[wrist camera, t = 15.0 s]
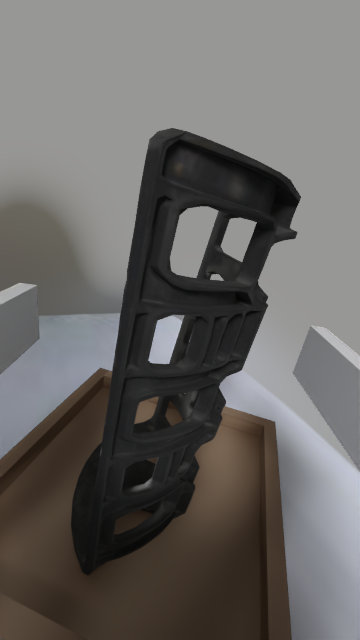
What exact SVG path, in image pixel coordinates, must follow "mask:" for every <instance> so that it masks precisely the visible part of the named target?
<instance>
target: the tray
mask: <svg viewBox="0 0 360 640" xmlns="http://www.w3.org/2000/svg"><path fill="white" fill-rule="evenodd" d="M111 378H112V371H109V370H105V369H102V368H100V369H99V370H97V371H96V372H95V373H94V374H93V375H92V376H91V377H90V378H89V379H88V380H87V381H85V382H84V383H83V384H82V385H81V386H80V387H79V388H78V389H77V390H76V391H75V392H73V393H72V394H71V395H70V396H69V397H68V398H67V399H66V400H65V401H64V402H63V403H61V404H60V405H59V406H58V407H57V408H56V409H55V410H54V411H53V412H52V413H51V414H49V415H48V416H47V417H46V418H45V419H44V420H43V421H42V422H41V423H40V424H39V425H37V426H36V427H35V428H34V429H33V430H32V431H31V432H30V433H29V434H28V435H27V436H25V437H24V438H23V439H22V440H21V441H20V442H19V443H18V444H17V445H16V446H15V447H13V448H12V449H11V450H10V451H9V452H8V453H7V454H6V455H5V456H4V457H3V458H1V459H0V640H292V638H291V625H290V611H289V598H288V585H287V572H286V559H285V546H284V532H283V519H282V506H281V493H280V480H279V467H278V453H277V440H276V427H275V422H274V421H270V420H267V419H264V418H261V417H257V416H254V415H251V414H248V413H245V412H241V411H238V410H235V409H232V408H228V407H225V406H224V408H223V410H222V413H221V415H222V418H223V419H222V421H221V423H220V426H219V428H218V431H217V433H216V435H215V437H214V439H213V440H211V441H209V442H207V443H205V444H203V445H201V447H200V448H199V449H198V450H197V452H196V453H195V455H194V456H195V458H196V460H197V462H198V464H199V467H200V468H199V470H198V473H197V475H196V477H195V480H194V482H193V484H195V491H194V494H193V496H192V499H191V501H190V504H189V506H188V508H187V510H186V513H184V514H182V515H180V516H178V517H176V518H174V519H173V520H172V521H171V523H170V524H169V525H168V526H167V527H166V528H165V529H164V531H163V532H162V533H160V534H159V535H158V536H157V537H156V538H155V539H153V540H152V541H150V542H149V543H147V544H146V545H145V546H143V547H142V548H140V549H138V550H136V551H134V552H132V553H130V554H128V555H126V556H123V557H121V558H118V559H115V560H111V561H108V562H106V563H105V564H103V565H101V566H99V567H98V568H97V569H96V570H95V571H93V572H92V573H91V574H89V575H88V576H87V575H86V574H84V573H83V572H82V570H81V567H80V564H79V561H78V559H77V556H76V553H75V550H74V544H73V536H72V529H71V516H72V500H73V495H74V491H75V488H76V484H77V481H78V478H79V475H80V473H81V471H82V469H83V467H84V464H85V462H86V461H87V459H88V458H89V457H90V455H91V454H92V452H93V451H94V450H95V449H96V447H97V446H98V445H99V444H100V443H101V442H102V438H103V431H104V425H105V418H106V412H107V405H108V398H109V391H110V385H111ZM158 398H159V397H154V398H151V399H148V400H145V401H142V402H140V403H139V406H138V409H137V413H136V418H135V423H134V424H136V423H141V422H145V421H146V420H148V419H150V418H151V417H152V416H153V415H154V412H155V409H156V406H157V402H158ZM165 416H166V418H167V420H168V422H169V423H170V425H171V426H173V425H175V424H177V423H180V422H182V421H183V419H182V417H181V415H180V413H179V411H178V410H177V408H176V407H175V405H174V404H173V403H172V402H171V401H170V402H169V405H168V409H167V412H166V415H165ZM157 458H158V457H156V458H152V459H147V460H148V461H150V462H153V463H155V464H156V462H157ZM152 514H153V513H149V512H147V511H144V510H141V509H140V510H137V511H134V512H131V513H129V514H127V515H125V516H123V517H121V518H119V519H117V520H116V525H115V530H114V534H120V533H123V532H125V531H128V530H130V529H132V528H134V527H136V526H138V525H139V524H141V523H142V522H144V521H145V520H146V519H148V518H149V517H150V516H151V515H152Z"/></svg>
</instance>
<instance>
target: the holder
mask: <svg viewBox="0 0 360 640" xmlns="http://www.w3.org/2000/svg"><path fill="white" fill-rule="evenodd" d="M300 198H301V196H300V195H299V193H298V192H297V190H296V188H295V187H294V185H293V184H292V182H291V180H290V179H288V178H287V177H286V176H284V175H283V174H281V173H280V172H278V171H276V170H274V169H272V168H270V167H268V166H266V165H264V164H263V163H261V162H259V161H257V160H255V159H252V158H250V157H248V156H246V155H243V154H241V153H239V152H237V151H234V150H232V149H230V148H228V147H225V146H223V145H221V144H218V143H215V142H213V141H211V140H208V139H206V138H203V137H200V136H198V135H195V134H192V133H190V132H187V131H182V130H178V129H174V128H171V129H167V130H162V131H159V132H157V133H156V134H155V135H154V136H153V137H152V138H151V139H150V140H149V145H148V150H147V155H146V160H145V166H144V171H143V176H142V182H141V188H140V194H139V201H138V208H137V214H136V221H135V228H134V234H133V239H132V245H131V252H130V257H129V263H128V269H127V281H126V285H125V289H124V295H123V303H122V310H121V315H120V322H119V332H118V338H117V344H116V350H115V358H114V364H113V371H112V378H111V385H110V391H109V398H108V405H107V412H106V418H105V425H104V431H103V438H102V442H101V443H100V444H99V445H98V446H97V447H96V449H95V450H94V451H93V452H92V454H91V455H90V457H89V458H88V459H87V461H86V462H85V464H84V467H83V469H82V471H81V473H80V475H79V478H78V481H77V484H76V488H75V491H74V495H73V500H72V516H71V529H72V536H73V544H74V550H75V553H76V556H77V559H78V561H79V564H80V567H81V570H82V572H83V573H84V574H86V575H87V576H88V575H89V574H91V573H92V572H93V571H95V570H96V569H97V568H98V567H99V566H101V565H103V564H105V563H106V562H108V561H111V560H115V559H118V558H121V557H123V556H126V555H128V554H130V553H132V552H134V551H136V550H138V549H140V548H142V547H143V546H145V545H146V544H147V543H149V542H150V541H152V540H153V539H155V538H156V537H157V536H158V535H159V534H160V533H162V532H163V531H164V529H165V528H166V527H167V526H168V525H169V524H170V523H171V521H172V520H173V519H174V518H176V517H178V516H180V515H182V514H184V513H186V510H187V508H188V506H189V504H190V501H191V499H192V496H193V494H194V491H195V484H193V482H194V480H195V477H196V475H197V473H198V470H199V468H200V467H199V464H198V462H197V460H196V458H195V456H194V455H195V453H196V452H197V450H198V449H199V448H200V447H201V445H203V444H205V443H207V442H209V441H211V440H213V439H214V437H215V435H216V433H217V431H218V428H219V426H220V423H221V421H222V419H223V418H222V415H221V413H222V410H223V408H224V406H225V404H226V400H225V399H224V397H223V395H222V393H221V391H220V389H219V385H220V383H221V382H222V381H223V380H224V379H225V377H226V376H229V375H231V374H234V373H237V372H239V371H241V370H242V368H243V366H244V363H245V361H246V358H247V355H248V353H249V351H250V348H251V346H252V343H253V341H254V338H255V336H256V333H257V331H258V329H259V326H260V324H261V321H262V319H263V316H264V314H265V311H266V309H267V307H268V305H267V304H266V301H267V299H268V296H267V295H266V294H265V293H264V292H263V290H262V289H261V288H260V287H259V285H258V279H259V276H260V274H261V271H262V269H263V267H264V264H265V261H266V259H267V256H268V253H269V251H270V249H271V247H272V246H273V244H274V243H277V242H280V241H283V240H288V239H295V238H296V235H297V232H296V231H294V230H291V229H290V224H291V221H292V218H293V215H294V213H295V210H296V208H297V205H298V203H299V201H300ZM199 206H209V207H211V208H214V209H216V210H218V211H219V212H218V215H217V218H216V221H215V224H214V227H213V230H212V233H211V236H210V239H209V242H208V245H207V248H206V251H205V254H204V257H203V260H202V264H201V267H200V269H199V272H198V276H197V278H190V277H185V276H180V275H176V274H175V273H173V272H172V271H171V267H170V255H171V250H172V245H173V241H174V237H175V233H176V228H177V224H178V220H179V215H180V214H181V213H183V212H184V211H185V210H186V209H187V208H193V207H199ZM239 217H241V218H244V219H248V220H252V221H255V222H257V224H256V227H255V229H254V232H253V235H252V238H251V240H250V243H249V245H248V248H247V251H246V253H245V256H244V259H243V262H240V261H238V260H236V259H234V258H232V257H231V256H229V255H227V254H225V253H224V252H223V250H222V248H221V243H222V240H223V237H224V234H225V231H226V228H227V226H228V222H229V220H230V219H231V218H239ZM212 274H219V275H220V276H221V277H222V278H223V279H224V281H218V280H210V277H211V275H212ZM173 314H174V315H185V316H184V319H183V322H182V325H181V329H180V332H179V335H178V338H177V341H176V344H175V347H174V350H173V353H172V357H171V360H170V363H169V364H153V363H150V362H149V361H148V359H149V354H150V350H151V345H152V341H153V337H154V332H155V328H156V324H157V320H160V319H163V318H165V317H168V316H171V315H173ZM191 334H192V335H191ZM190 337H191V338H190ZM189 340H190V342H189ZM184 393H186V394H184ZM154 397H159V398H158V402H157V406H156V409H155V412H154V415H153V416H152V417H151V418H150V419H148V420H146V421H145V422H141V423H136V424H134V423H135V418H136V413H137V409H138V406H139V403H140V402H142V401H145V400H148V399H151V398H154ZM170 401H171V402H172V403H173V404H174V405H175V407H176V408H177V410H178V411H179V413H180V415H181V417H182V419H183V421H182V422H180V423H177V424H175V425H173V426H171V425H170V423H169V422H168V420H167V418H166V416H165V415H166V412H167V409H168V405H169V402H170ZM156 457H158V458H157V462H156V464H155V463H153V462H150V461H148V460H147V459H152V458H156ZM140 509H141V510H144V511H147V512H149V513H153V514H152V515H151V516H150V517H149V518H148V519H146V520H145V521H144V522H142V523H141V524H139V525H138V526H136V527H134V528H132V529H130V530H128V531H125V532H123V533H120V534H114V530H115V525H116V520H117V519H119V518H121V517H123V516H125V515H127V514H129V513H131V512H134V511H137V510H140Z"/></svg>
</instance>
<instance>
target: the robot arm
mask: <svg viewBox="0 0 360 640" xmlns="http://www.w3.org/2000/svg"><path fill="white" fill-rule="evenodd" d="M38 339H39V320H38V302H37V285H31V284H23V283H18V284H16V285H14V286H12V287H10V288H8V289H6V290H4V291H1V292H0V374H1V373H2V372H3V371H5V370H6V369H7V368H8V367H9V366H10V365H11V364H12V363H13V362H14V361H15V360H17V359H18V358H19V357H20V356H21V355H22V354H23V353H24V352H25V351H26V350H27V349H29V348H30V347H31V346H32V345H33V344H34V343H35V342H36V341H37V340H38ZM293 374H294V375H295V377H296V378H297V380H298V381H299V383H300V384H301V386H302V387H303V389H304V390H305V391H306V393H307V394H308V396H309V397H310V399H311V400H312V402H313V403H314V405H315V406H316V407H317V409H318V411H319V412H320V414H321V415H322V417H323V418H324V419H325V421H326V422H327V424H328V425H329V427H330V428H331V430H332V431H333V433H334V434H335V436H336V437H337V439H338V440H339V442H340V443H341V444H342V446H343V447H344V449H345V450H346V452H347V453H348V455H349V456H350V458H351V459H352V460H353V462H354V463H355V465H356V466H357V468H358V469H359V471H360V356H359V355H358V354H357V353H355V352H354V351H353V350H352V349H351V348H349V347H348V346H347V345H346V344H344V343H343V342H342V341H341V340H340V339H338V338H337V337H336V336H335V335H334V334H332V333H331V332H330V331H329V330H327V329H326V328H323V327H316V326H310V329H309V331H308V334H307V336H306V339H305V342H304V344H303V347H302V350H301V352H300V355H299V358H298V360H297V363H296V366H295V369H294V371H293Z"/></svg>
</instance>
